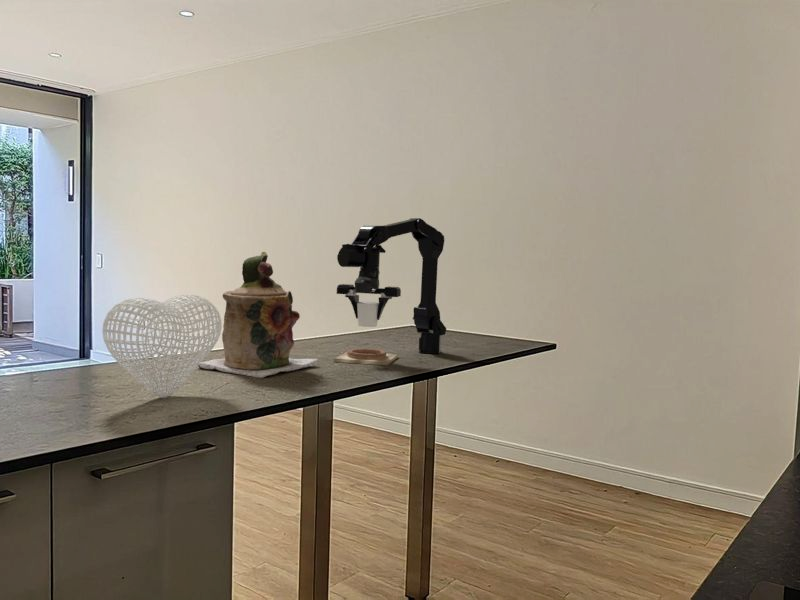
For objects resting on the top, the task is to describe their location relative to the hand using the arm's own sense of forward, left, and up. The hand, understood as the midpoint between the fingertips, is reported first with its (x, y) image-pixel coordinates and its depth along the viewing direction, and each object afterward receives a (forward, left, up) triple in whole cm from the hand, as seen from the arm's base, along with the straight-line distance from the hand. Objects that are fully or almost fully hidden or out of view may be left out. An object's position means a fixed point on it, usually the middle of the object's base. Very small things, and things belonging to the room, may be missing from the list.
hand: (367, 319), depth 216 cm
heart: (+29, +67, -13) cm, 74 cm away
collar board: (0, +1, -12) cm, 12 cm away
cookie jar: (+25, +25, -13) cm, 37 cm away
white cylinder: (0, 0, -2) cm, 2 cm away
